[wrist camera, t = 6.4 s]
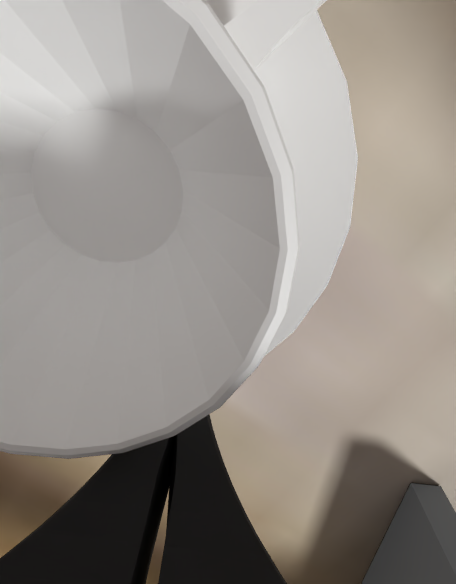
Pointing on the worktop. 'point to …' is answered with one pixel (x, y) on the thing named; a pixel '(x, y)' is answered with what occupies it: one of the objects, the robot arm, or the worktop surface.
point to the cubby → (418, 541)
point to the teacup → (159, 208)
